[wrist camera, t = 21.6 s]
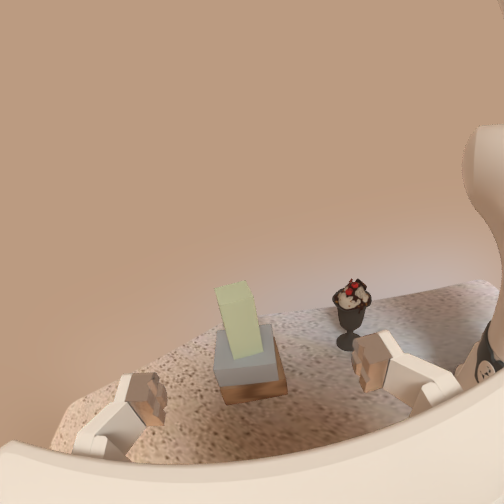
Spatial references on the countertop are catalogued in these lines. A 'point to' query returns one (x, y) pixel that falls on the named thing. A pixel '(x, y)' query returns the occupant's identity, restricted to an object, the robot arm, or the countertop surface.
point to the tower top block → (245, 361)
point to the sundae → (351, 311)
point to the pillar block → (239, 319)
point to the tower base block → (256, 388)
